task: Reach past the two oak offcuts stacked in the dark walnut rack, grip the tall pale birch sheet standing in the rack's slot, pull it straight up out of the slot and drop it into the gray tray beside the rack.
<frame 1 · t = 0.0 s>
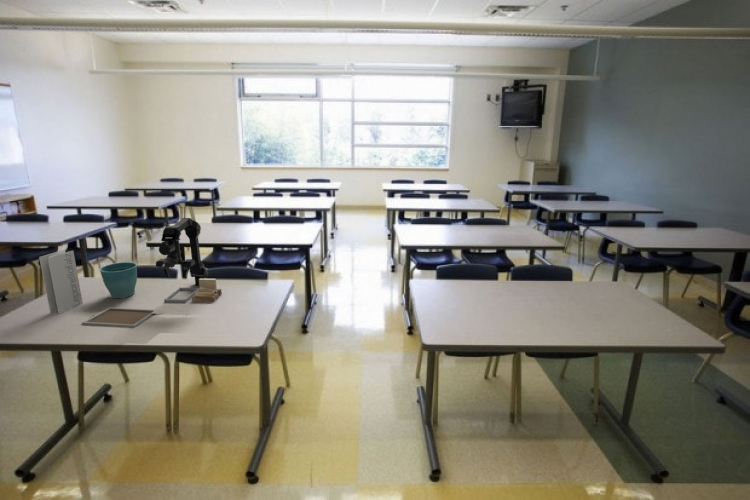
hand: (177, 278, 229), 15 cm above the table, tool pointing down, fingers open, 9 cm apart
brochure: (66, 308, 224), on the table
picture frame: (119, 319, 214), on the table
lower oak offcut: (205, 299, 235), point 1 cm above the table, touching upper oak offcut, walnut rack
flower pot: (122, 295, 244), on the table
walnut rack: (207, 300, 238), on the table
gray tray: (183, 298, 240), on the table
upper oak offcut: (205, 295, 235), point 4 cm above the table, touching lower oak offcut
birch sheet: (208, 295, 240), point 1 cm above the table, touching walnut rack
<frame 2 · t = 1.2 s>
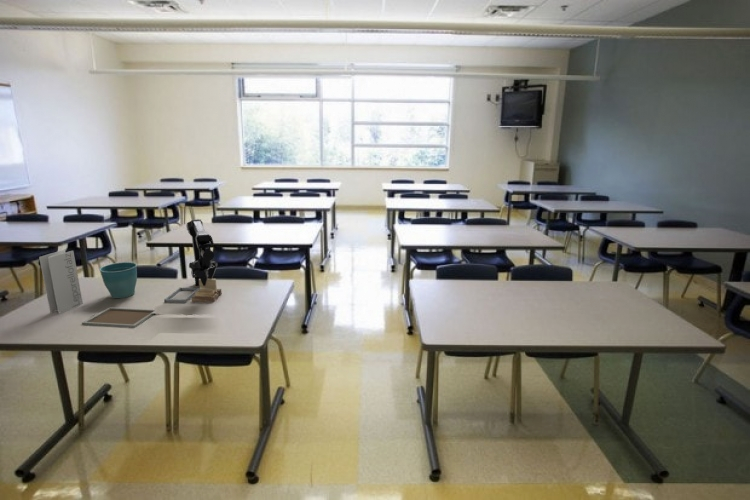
hand: (207, 282, 238), 9 cm above the table, tool pointing down, fingers open, 9 cm apart
nothing on the table moved.
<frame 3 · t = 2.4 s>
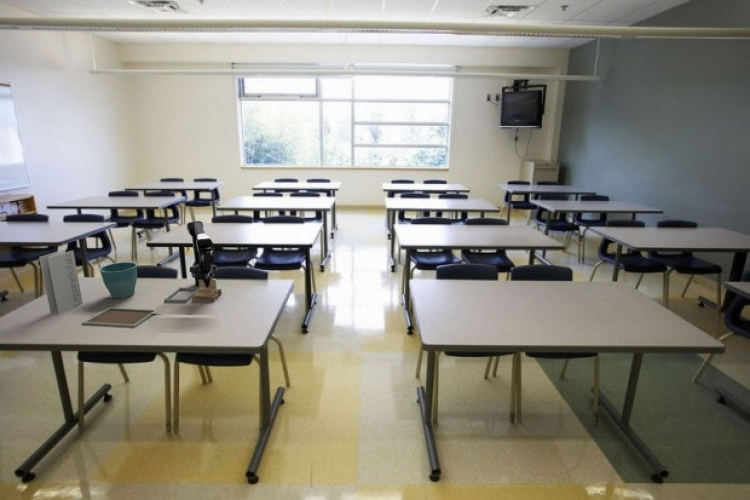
hand: (208, 286, 239), 7 cm above the table, tool pointing down, fingers closed on birch sheet, 1 cm apart
birch sheet: (208, 295, 240), point 1 cm above the table, touching gripper, walnut rack
everything else where it was.
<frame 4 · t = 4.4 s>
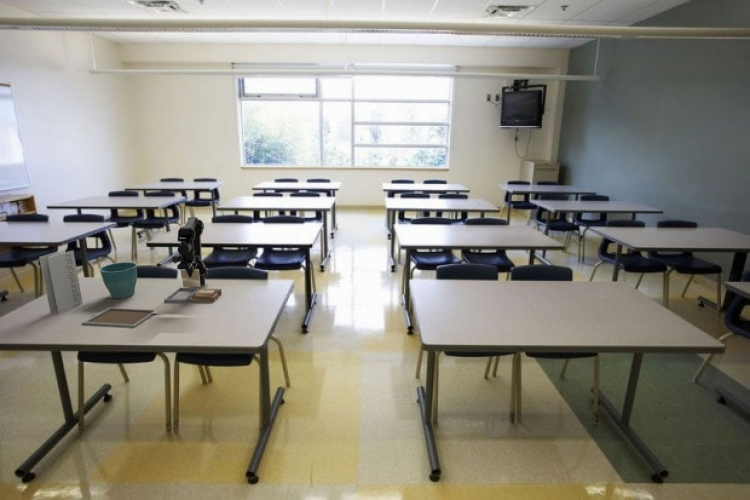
hand: (191, 276, 237), 13 cm above the table, tool pointing down, fingers closed on birch sheet
birch sheet: (191, 286, 238), point 7 cm above the table, touching gripper
everything else where it was.
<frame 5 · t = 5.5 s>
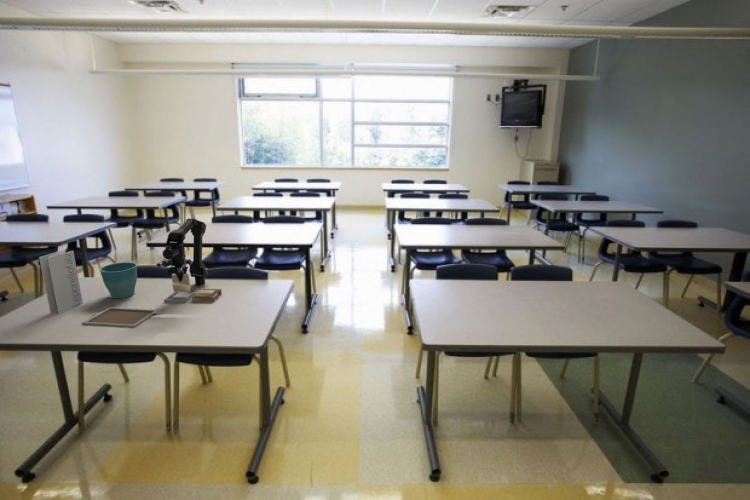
hand: (181, 281, 237), 10 cm above the table, tool pointing down, fingers closed on birch sheet
birch sheet: (182, 291, 239), point 4 cm above the table, touching gripper
everything else where it was.
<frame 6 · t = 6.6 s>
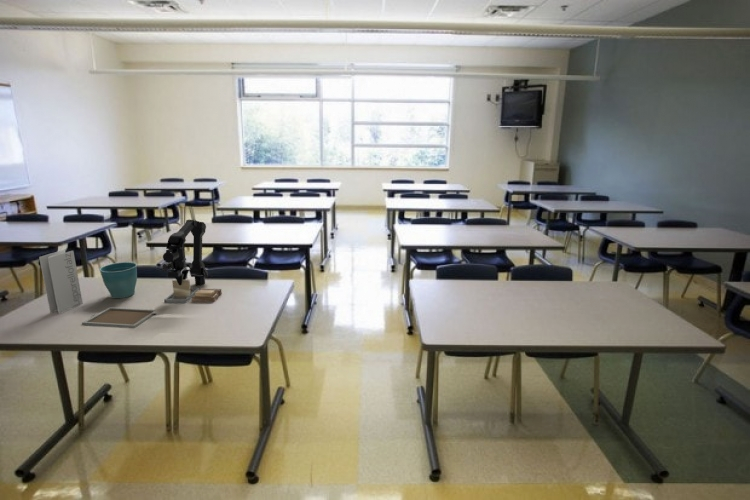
hand: (181, 284, 238), 8 cm above the table, tool pointing down, fingers open, 3 cm apart
birch sheet: (182, 296, 240), point 1 cm above the table, touching gray tray
everything else where it was.
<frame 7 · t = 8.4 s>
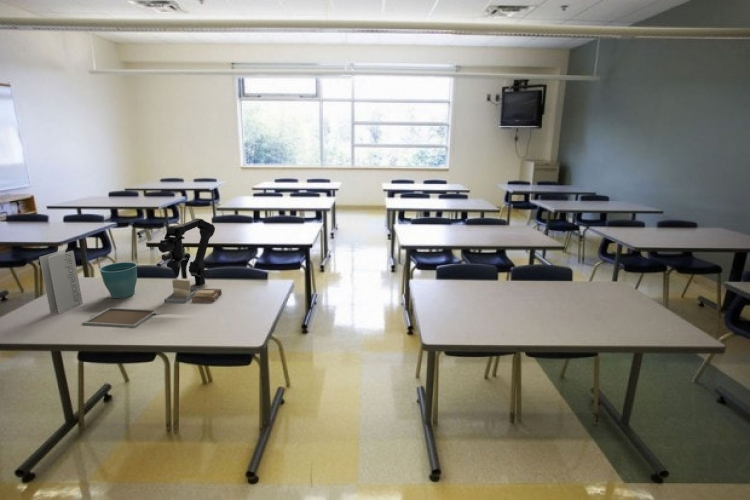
hand: (180, 274, 244), 12 cm above the table, tool pointing down, fingers open, 9 cm apart
nothing on the table moved.
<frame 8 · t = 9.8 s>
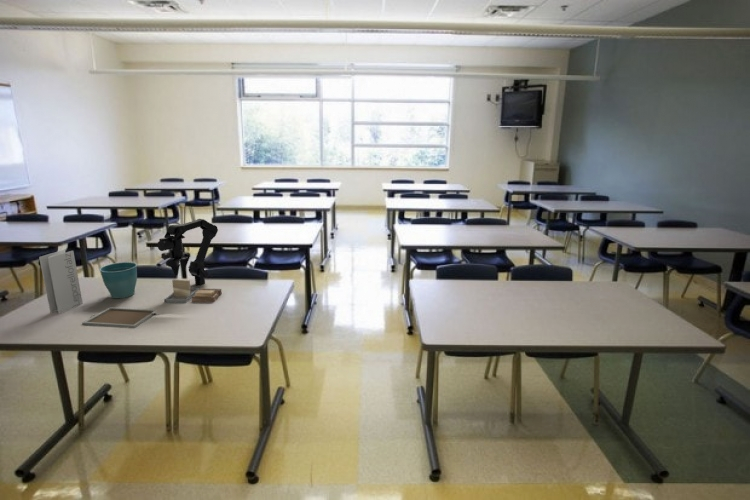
hand: (180, 273, 246), 12 cm above the table, tool pointing down, fingers open, 9 cm apart
nothing on the table moved.
at the end: birch sheet inside the target area on the gray tray (0.2 cm from its centre), point 1.0 cm above the gray tray's base; the gripper is holding nothing; upper oak offcut moved 0.0 cm from its start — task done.
